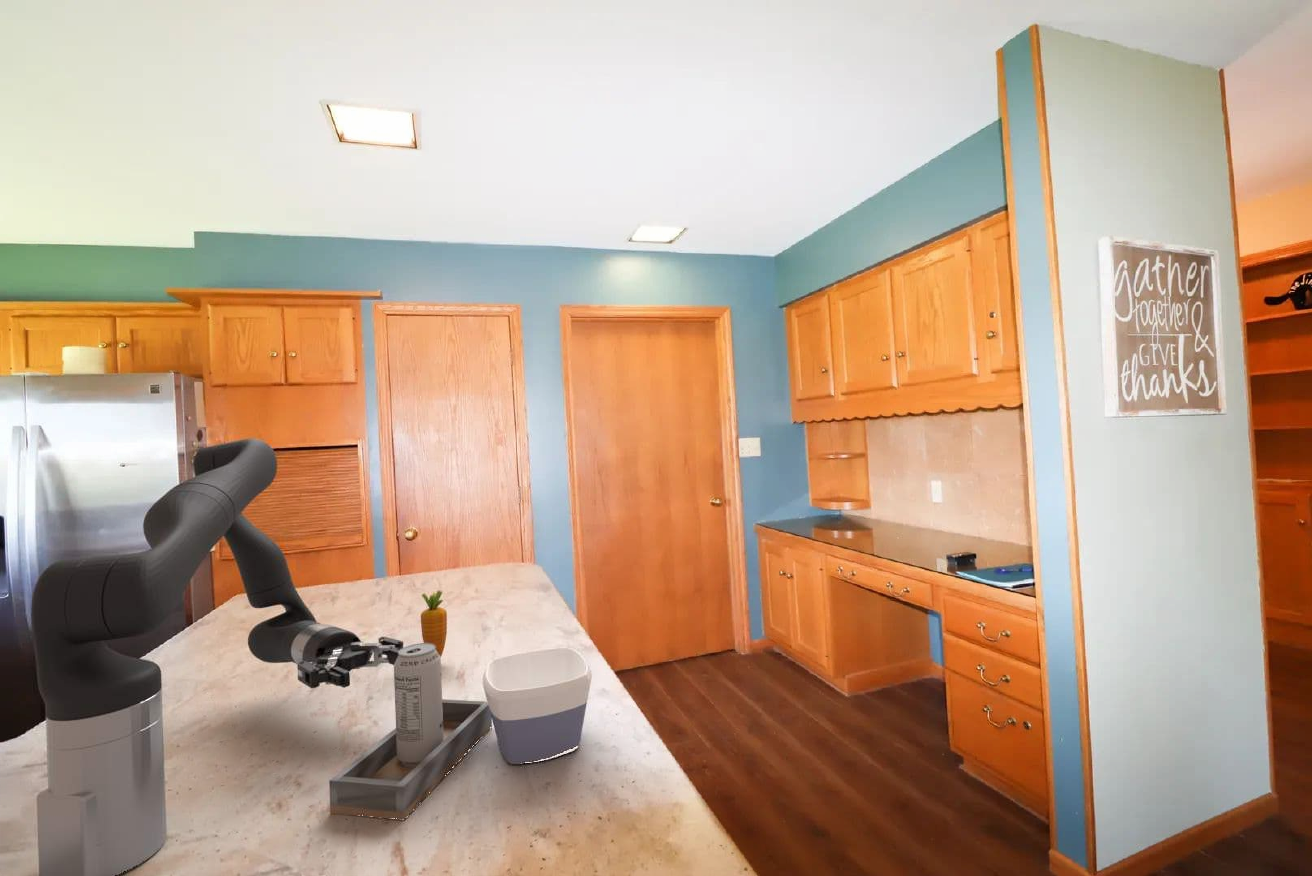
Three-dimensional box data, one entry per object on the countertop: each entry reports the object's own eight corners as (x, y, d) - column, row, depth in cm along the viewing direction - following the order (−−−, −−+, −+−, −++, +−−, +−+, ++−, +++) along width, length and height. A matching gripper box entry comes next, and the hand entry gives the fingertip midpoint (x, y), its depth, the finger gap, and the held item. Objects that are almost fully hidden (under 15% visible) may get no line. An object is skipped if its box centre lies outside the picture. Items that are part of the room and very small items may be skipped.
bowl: (481, 729, 88) (479, 658, 88) (579, 709, 94) (576, 642, 94) (489, 784, 74) (486, 698, 74) (604, 756, 79) (601, 676, 80)
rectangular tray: (404, 820, 67) (403, 786, 67) (330, 813, 69) (329, 780, 69) (491, 727, 89) (491, 701, 89) (433, 723, 91) (432, 698, 91)
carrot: (416, 667, 115) (414, 592, 115) (436, 658, 119) (434, 586, 119) (434, 670, 113) (431, 594, 113) (453, 661, 117) (451, 588, 117)
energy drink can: (452, 753, 80) (448, 646, 80) (411, 774, 75) (407, 660, 75) (429, 741, 83) (425, 638, 84) (388, 760, 79) (384, 651, 79)
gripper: (277, 640, 89) (325, 660, 80) (367, 615, 101) (419, 630, 91) (278, 688, 89) (327, 714, 80) (369, 658, 101) (421, 677, 91)
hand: (376, 669), depth 86 cm, fingers open, 8 cm apart
